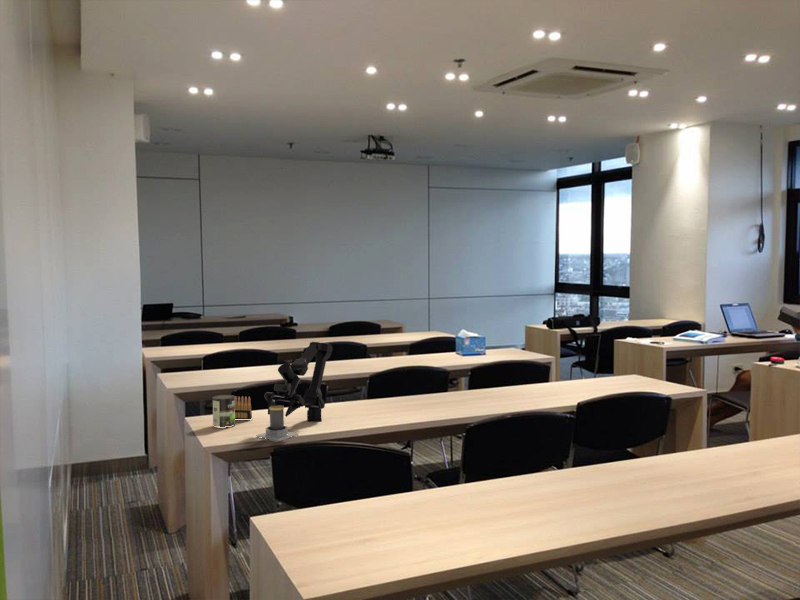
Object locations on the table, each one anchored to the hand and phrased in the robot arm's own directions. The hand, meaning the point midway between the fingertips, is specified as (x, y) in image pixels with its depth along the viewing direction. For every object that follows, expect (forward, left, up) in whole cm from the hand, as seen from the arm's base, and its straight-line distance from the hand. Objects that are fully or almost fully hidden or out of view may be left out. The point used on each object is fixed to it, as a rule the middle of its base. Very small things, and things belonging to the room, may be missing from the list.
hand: (277, 415), depth 297 cm
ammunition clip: (+19, -34, -10) cm, 40 cm away
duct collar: (0, 0, -9) cm, 10 cm away
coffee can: (+26, -23, -10) cm, 36 cm away
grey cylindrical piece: (0, 0, -9) cm, 9 cm away
